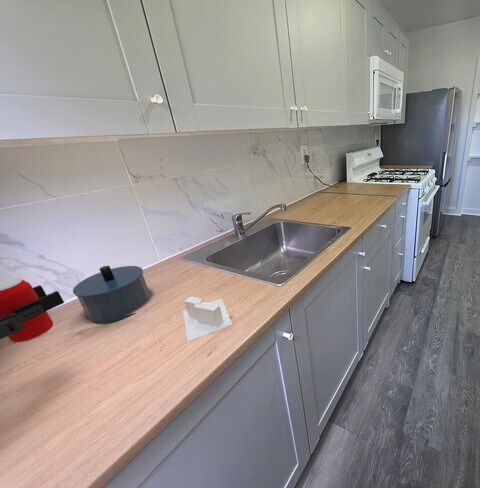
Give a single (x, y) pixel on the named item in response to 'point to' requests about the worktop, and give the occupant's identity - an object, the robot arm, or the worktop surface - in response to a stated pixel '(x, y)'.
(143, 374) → the worktop surface
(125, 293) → the pot
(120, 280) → the pot lid
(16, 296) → the beverage can
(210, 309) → the napkin holder
